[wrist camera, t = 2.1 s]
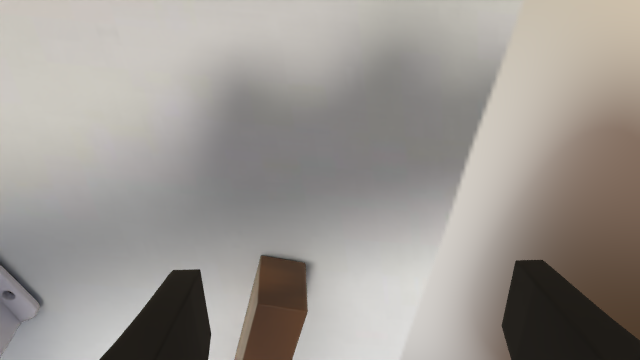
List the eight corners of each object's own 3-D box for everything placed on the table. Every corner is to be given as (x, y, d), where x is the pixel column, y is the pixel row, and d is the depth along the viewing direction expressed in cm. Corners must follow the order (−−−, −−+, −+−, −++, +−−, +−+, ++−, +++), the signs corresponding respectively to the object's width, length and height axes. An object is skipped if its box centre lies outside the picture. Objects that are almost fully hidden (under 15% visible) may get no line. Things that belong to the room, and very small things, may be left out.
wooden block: (306, 262, 23) (308, 311, 21) (268, 383, 27) (266, 438, 25) (260, 254, 23) (257, 303, 20) (229, 378, 27) (223, 433, 24)
